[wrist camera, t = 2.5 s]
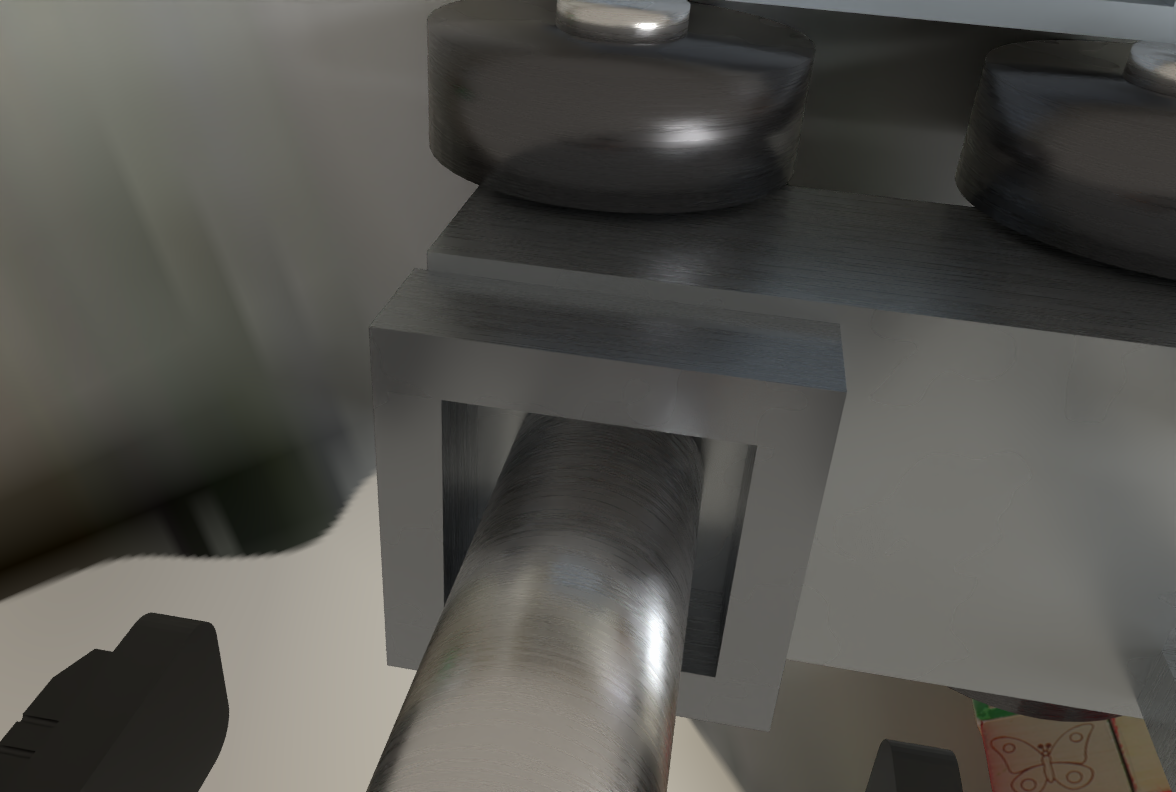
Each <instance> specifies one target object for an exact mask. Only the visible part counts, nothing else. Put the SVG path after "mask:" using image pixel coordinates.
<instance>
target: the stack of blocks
mask: <svg viewBox="0 0 1176 792" xmlns="http://www.w3.org/2000/svg"><path fill="white" fill-rule="evenodd" d="M972 703H973V710H974V716H975V720H976V724H977V727H978V729H979V731H980V733H981V736H982V738H983V743H984V748H985V753H986V758H987V764H988V769H989V775H990V781H991V787H992V791H993V792H1172V791H1171V788H1170V786H1169V783H1168V780H1167V778H1166V775H1165V773H1164V770H1163V768H1162V765H1161V762H1160V760H1159V757H1158V755H1157V752H1156V750H1155V747H1154V744H1153V742H1152V739H1151V737H1150V734H1149V732H1148V729H1147V726H1146V724H1145V721H1144V719H1141V718H1135V717H1129V716H1121V717H1116V718H1112V719H1107V720H1101V721H1090V722H1062V721H1053V720H1045V719H1038V718H1033V717H1029V716H1024V715H1019V714H1015V713H1012V712H1008V711H1005V710H1002V709H999V708H995V707H992V706H990V705H987V704H984V703H982V702H979V701H977V700H974V699H972Z"/></svg>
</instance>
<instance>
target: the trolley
mask: <svg viewBox="0 0 1176 792" xmlns="http://www.w3.org/2000/svg"><path fill="white" fill-rule="evenodd" d="M427 36H428V93H429V142H430V149H431V151H432V153H433V155H434V157H435V158H436V159H437V160H438V161H439V162H440V163H441V164H442V165H443V166H445V167H446V168H448V169H449V170H450V171H452V172H453V173H455V174H457V175H459V176H461V177H463V178H464V179H466V180H468V181H471V182H473V183H476V184H478V185H479V187H478V188H477V189H476V191H475V192H474V193H473V194H472V196H471V197H470V198H469V199H468V201H467V202H466V203H465V204H464V206H463V207H462V208H461V210H460V211H459V212H458V213H457V215H456V216H455V217H454V218H453V220H452V221H451V222H450V223H449V225H448V226H447V227H446V229H445V230H444V231H443V232H442V234H441V235H440V236H439V237H438V239H437V240H436V241H435V243H434V244H433V245H432V246H431V248H430V249H429V250H428V251H427V268H428V270H423V269H414V270H413V271H412V273H411V274H410V275H409V276H408V278H407V279H406V280H405V282H404V283H403V284H402V285H401V287H400V288H399V289H398V290H397V292H396V293H395V294H394V296H393V297H392V298H391V299H390V301H389V302H388V303H387V304H386V306H385V307H384V308H383V310H382V311H381V312H380V313H379V315H378V316H377V317H376V318H375V320H374V321H373V322H372V324H371V325H370V326H369V336H370V355H371V373H372V392H373V410H374V429H375V447H376V466H377V484H378V503H379V521H380V540H381V557H382V577H383V595H384V613H385V631H386V651H387V665H389V666H395V667H401V668H406V669H412V670H418V668H419V665H420V663H421V661H422V658H423V656H424V653H425V651H426V649H427V646H428V644H429V642H430V639H431V637H432V634H433V632H434V630H435V627H436V625H437V623H438V620H439V618H440V616H441V613H442V611H443V608H444V606H445V604H446V601H447V599H448V597H449V594H450V592H451V589H452V587H453V585H454V582H455V580H456V578H457V575H458V573H459V571H460V568H461V566H462V563H463V561H464V559H465V556H466V554H467V552H468V549H469V547H470V544H471V542H472V540H473V537H474V535H475V533H476V530H477V528H478V525H479V523H480V521H481V518H482V516H483V514H484V511H485V509H486V507H487V504H488V502H489V499H490V497H491V495H492V492H493V490H494V488H495V485H496V483H497V480H498V478H499V476H500V473H501V471H502V469H503V466H504V464H505V461H506V459H507V457H508V454H509V452H510V450H511V447H512V445H513V443H514V440H515V438H516V435H517V433H518V431H519V429H520V427H521V425H522V424H523V422H524V421H525V419H526V418H527V417H528V416H529V415H530V414H531V413H535V414H542V415H549V416H556V417H563V418H570V419H577V420H584V421H591V422H597V423H604V424H611V425H618V426H625V427H632V428H639V429H646V430H653V431H660V432H667V433H674V434H680V435H687V436H692V437H693V438H694V440H695V442H696V444H697V446H698V449H699V451H700V454H701V458H702V462H703V469H704V483H703V492H702V501H701V509H700V517H699V526H698V534H697V542H696V551H695V559H694V567H693V576H692V584H691V592H690V601H689V609H688V617H687V626H686V634H685V642H684V651H683V659H682V667H681V676H680V684H679V692H678V701H677V709H676V716H680V717H686V718H692V719H697V720H703V721H709V722H714V723H720V724H726V725H732V726H737V727H743V728H749V729H754V730H760V731H766V732H770V727H771V723H772V718H773V714H774V710H775V705H776V701H777V697H778V692H779V688H780V683H781V679H782V675H783V670H784V666H785V662H786V659H788V660H794V661H800V662H806V663H812V664H818V665H824V666H830V667H836V668H842V669H847V670H853V671H859V672H865V673H871V674H877V675H883V676H889V677H895V678H901V679H907V680H913V681H919V682H925V683H931V684H937V685H943V686H947V687H949V688H951V689H953V690H955V691H957V692H959V693H961V694H963V695H965V696H967V697H969V698H972V699H974V700H977V701H979V702H982V703H984V704H987V705H990V706H992V707H995V708H999V709H1002V710H1005V711H1008V712H1012V713H1015V714H1019V715H1024V716H1029V717H1033V718H1038V719H1045V720H1053V721H1062V722H1090V721H1101V720H1107V719H1112V718H1116V717H1121V716H1129V717H1135V718H1141V719H1144V721H1145V724H1146V726H1147V729H1148V732H1149V734H1150V737H1151V739H1152V742H1153V744H1154V747H1155V750H1156V752H1157V755H1158V757H1159V760H1160V762H1161V765H1162V768H1163V770H1164V773H1165V775H1166V778H1167V780H1168V783H1169V786H1170V788H1171V791H1172V792H1176V44H1171V43H1160V42H1150V41H1140V42H1136V43H1134V44H1129V43H1118V42H1103V41H1081V40H1044V41H1029V42H1019V43H1013V44H1007V45H1004V46H1000V47H997V48H995V49H993V50H991V51H990V52H989V53H988V54H987V55H986V58H985V62H984V66H983V70H982V74H981V78H980V82H979V85H978V89H977V93H976V97H975V101H974V105H973V109H972V112H971V116H970V120H969V124H968V128H967V132H966V136H965V139H964V143H963V147H962V151H961V155H960V159H959V163H958V166H957V170H956V175H955V182H956V186H957V187H958V189H959V191H960V192H961V194H962V195H963V196H964V197H965V198H966V199H967V200H968V201H969V202H970V203H971V204H972V205H974V206H975V207H967V206H959V205H950V204H942V203H933V202H924V201H916V200H907V199H898V198H890V197H881V196H873V195H864V194H855V193H847V192H838V191H830V190H821V189H812V188H804V187H795V186H787V185H786V184H787V183H788V182H789V180H790V179H791V177H792V176H793V173H794V168H795V162H796V156H797V151H798V145H799V139H800V133H801V128H802V122H803V116H804V110H805V105H806V99H807V93H808V87H809V82H810V76H811V70H812V64H813V59H814V53H815V46H814V43H813V42H812V41H811V40H810V39H809V38H808V37H807V36H805V35H804V34H802V33H801V32H799V31H797V30H795V29H793V28H791V27H789V26H786V25H784V24H781V23H779V22H776V21H773V20H770V19H767V18H763V17H760V16H756V15H752V14H749V13H745V12H741V11H736V10H732V9H727V8H722V7H717V6H712V5H706V4H700V3H694V2H688V1H687V0H461V1H456V2H453V3H450V4H447V5H444V6H442V7H440V8H438V9H436V10H434V11H433V12H432V13H431V14H430V15H429V17H428V19H427Z"/></svg>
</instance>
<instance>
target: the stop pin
mask: <svg viewBox="0 0 1176 792" xmlns="http://www.w3.org/2000/svg"><path fill="white" fill-rule="evenodd" d="M703 483H704V469H703V462H702V458H701V454H700V451H699V449H698V446H697V444H696V442H695V440H694V438H693V437H692V436H687V435H680V434H674V433H667V432H660V431H653V430H646V429H639V428H632V427H625V426H618V425H611V424H604V423H597V422H591V421H584V420H577V419H570V418H563V417H556V416H549V415H542V414H535V413H531V414H530V415H529V416H528V417H527V418H526V419H525V421H524V422H523V424H522V425H521V427H520V429H519V431H518V433H517V435H516V438H515V440H514V443H513V445H512V447H511V450H510V452H509V454H508V457H507V459H506V461H505V464H504V466H503V469H502V471H501V473H500V476H499V478H498V480H497V483H496V485H495V488H494V490H493V492H492V495H491V497H490V499H489V502H488V504H487V507H486V509H485V511H484V514H483V516H482V518H481V521H480V523H479V525H478V528H477V530H476V533H475V535H474V537H473V540H472V542H471V544H470V547H469V549H468V552H467V554H466V556H465V559H464V561H463V563H462V566H461V568H460V571H459V573H458V575H457V578H456V580H455V582H454V585H453V587H452V589H451V592H450V594H449V597H448V599H447V601H446V604H445V606H444V608H443V611H442V613H441V616H440V618H439V620H438V623H437V625H436V627H435V630H434V632H433V634H432V637H431V639H430V642H429V644H428V646H427V649H426V651H425V653H424V656H423V658H422V661H421V663H420V665H419V668H418V670H417V672H416V675H415V677H414V680H413V682H412V684H411V687H410V689H409V691H408V694H407V696H406V699H405V701H404V703H403V706H402V708H401V711H400V713H399V716H398V717H397V720H396V722H395V725H394V727H393V729H392V732H391V734H390V736H389V739H388V741H387V744H386V746H385V748H384V751H383V753H382V755H381V758H380V761H379V763H378V765H377V767H376V770H375V772H374V774H373V777H372V779H371V781H370V784H369V786H368V789H367V791H366V792H667V784H668V776H669V767H670V759H671V751H672V743H673V734H674V726H675V717H676V709H677V701H678V692H679V684H680V676H681V667H682V659H683V651H684V642H685V634H686V626H687V617H688V609H689V601H690V592H691V584H692V576H693V567H694V559H695V551H696V542H697V534H698V526H699V517H700V509H701V501H702V492H703Z"/></svg>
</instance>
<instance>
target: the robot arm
mask: <svg viewBox="0 0 1176 792" xmlns="http://www.w3.org/2000/svg"><path fill="white" fill-rule="evenodd" d="M228 721H229V705H228V699H227V693H226V687H225V681H224V675H223V669H222V663H221V658H220V652H219V646H218V640H217V634H216V630H215V628H214V626H213V625H212V624H211V623H209V622H205V621H198V620H192V619H187V618H180V617H175V616H169V615H163V614H157V613H148V614H145V615H144V616H142V617H141V618H140V619H139V620H138V621H137V622H136V623H135V624H134V626H133V627H132V628H131V629H130V631H129V632H128V633H127V634H126V636H125V637H124V638H123V640H122V641H121V642H120V644H119V645H118V646H117V647H116V649H115V650H114V651H113V652H111V651H105V650H99V649H94V650H93V651H91V652H90V653H88V654H87V655H85V656H84V657H82V658H81V659H79V660H78V661H77V662H75V663H74V664H72V665H71V666H69V667H68V668H66V669H65V670H63V671H62V672H60V673H59V674H58V675H56V676H55V677H53V678H52V679H51V681H50V682H49V683H48V684H47V685H46V687H45V688H44V689H43V690H42V692H41V693H40V694H39V695H38V696H37V698H36V699H35V700H34V701H33V702H32V704H31V705H30V706H29V707H28V708H27V710H26V711H25V712H24V713H23V718H22V720H21V721H20V722H16V723H15V724H14V725H13V727H12V728H11V729H10V730H9V732H8V733H7V734H6V735H5V736H4V738H3V739H2V740H1V741H0V792H198V791H199V789H200V788H201V786H202V784H203V782H204V781H205V779H206V777H207V776H208V774H209V772H210V770H211V769H212V767H213V765H214V764H215V762H216V760H217V758H218V756H219V753H220V751H221V748H222V746H223V743H224V740H225V737H226V732H227V728H228ZM865 792H963V789H962V784H961V778H960V773H959V768H958V763H957V760H956V757H955V755H954V753H953V752H952V751H951V750H947V749H941V748H935V747H929V746H923V745H917V744H911V743H905V742H900V741H894V740H888V739H885V740H883V741H882V743H881V745H880V747H879V750H878V753H877V756H876V759H875V763H874V766H873V769H872V772H871V775H870V778H869V782H868V785H867V788H866V791H865Z"/></svg>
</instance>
